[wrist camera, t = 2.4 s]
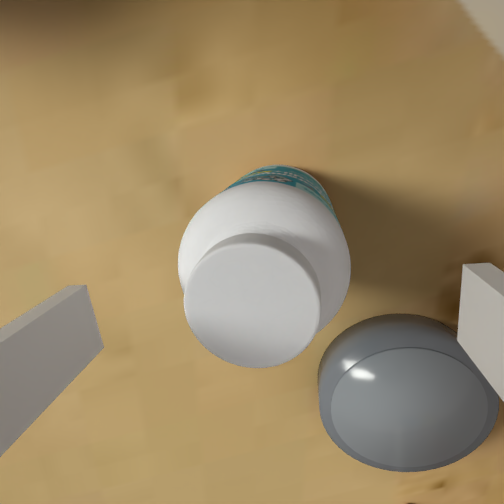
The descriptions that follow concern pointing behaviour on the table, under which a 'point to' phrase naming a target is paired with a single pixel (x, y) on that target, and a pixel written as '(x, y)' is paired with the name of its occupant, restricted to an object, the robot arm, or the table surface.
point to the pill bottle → (263, 267)
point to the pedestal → (404, 394)
